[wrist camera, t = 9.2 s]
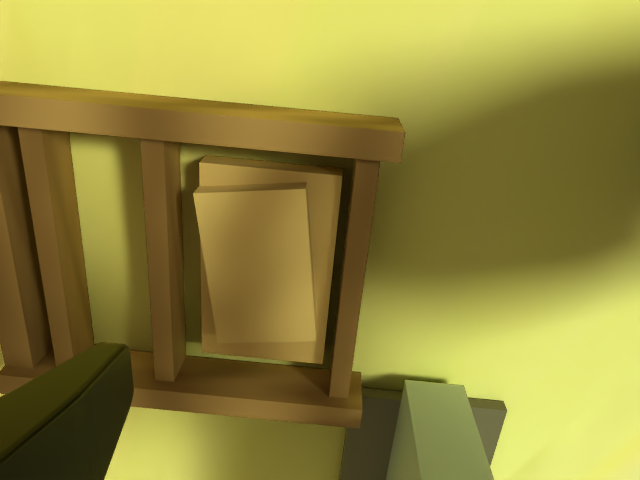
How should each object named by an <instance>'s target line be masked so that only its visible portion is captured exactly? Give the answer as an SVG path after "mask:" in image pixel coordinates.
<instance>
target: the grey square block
mask: <svg viewBox="0 0 640 480" xmlns="http://www.w3.org/2000/svg"><path fill="white" fill-rule="evenodd" d="M386 480H494V478H493V475H492V472H491V469H490V466H489V462H488V459H487V456H486V453H485V450H484V447H483V444H482V441H481V438H480V434H479V431H478V428H477V425H476V422H475V419H474V416H473V413H472V409H471V406H470V403H469V400H468V397H467V394H466V391H465V388H464V385H455V384H444V383H434V382H424V381H413V380H405V383H404V388H403V393H402V398H401V403H400V409H399V414H398V419H397V424H396V429H395V435H394V440H393V445H392V450H391V455H390V461H389V466H388V471H387V476H386Z"/></svg>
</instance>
